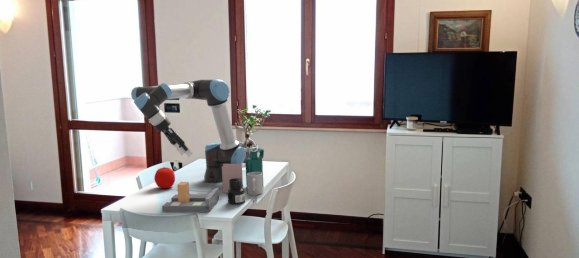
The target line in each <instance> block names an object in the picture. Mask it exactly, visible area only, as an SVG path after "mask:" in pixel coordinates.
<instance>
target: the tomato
mask: <svg viewBox="0 0 579 258" xmlns="http://www.w3.org/2000/svg"><path fill="white" fill-rule="evenodd" d="M175 182H176V175H175V172H174V170H173V169H172V168H170V167H165V166H163V167H160V168H158V169H157V170H156V171H155V174H154V183H155V184H156V186H157V187H158V188H159V189H168V188H169V189H170V188H172V187H173V185H174V184H175Z"/></svg>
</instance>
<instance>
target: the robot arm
mask: <svg viewBox="0 0 579 258" xmlns="http://www.w3.org/2000/svg"><path fill="white" fill-rule="evenodd" d="M130 93H131V94H130V95H131V98H132V100H133V101H134V105H135V106H136V107H137V109H138V110H139V111H140V112H141V113H142V114H143V116H144V117H145V118H146V119H147V120H148V123H149V124H151V125H152V126H154V127H153V128H154V129H155V130H156V132H158V133H163V134H164V135H165V137H166V138H167V140H168V142H169V143H170V144H171V145H172V146H173V147H174V148H175V149H176V151H177V152H178V153H179V154H180V155H181V156H183V155H186V156H187V158H190V157H191V156H192V155H193V154H194V153H193V152H192V151H191V149H190V148H189V147H188V145H186V143H185V141H184V140H183V139H182V138H181V137H180V136H179V135H178V134H177V133H176V131H175V130H174V129H173V128H172V127H169V126H170V125H171V121H170V120H169V118H168V117H166V115H165V114H164V112H163V111H162V110H161V109H160V108H159V107H160V106H161V105H162V104H163V103H164V102H165V101H166V100H172V99H173V100H175V99H186V100H201V101H206V105H207V106H208V107H210V108H211V111H212V114H213V119H214V122H215V125H216V130H217V133H218V138H219V139H220V142H219V141H218V142H212V143H207V144H206V145H205V147H204V150H205V151H204V153H205V154H204V155H205V172H204V175H203V182H206V183H221V182H222V183H223V179H222V166H223V164H242V165H243V163H244V162H245V160H246V155H247V154H246V149H245V147H243V146H241V145H240V142H239V141H238V140H237V139H236V137H235V133H234V130H233V126H232V122H231V118H230V114H229V111H228V107H227V103H228V98H229V96H230V88H229V85H228V83H226V81H224V80H222V79H217V78H216V79H198V80H193V81H186V82H185V81H184V82H183V83H179V84H167V83H163V82H162V83H160V84H159V85H154V86H153V85H151V86H137V87H136V86H135V87H133V88H132V89H131V92H130Z"/></svg>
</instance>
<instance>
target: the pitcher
mask: <svg viewBox="0 0 579 258" xmlns="http://www.w3.org/2000/svg"><path fill="white" fill-rule="evenodd" d="M248 152H249V153H250V157H247V158H245V159H244V162H245V182H246V183H245V184H246V186H247V173H250V172H261V173H262V183H263V184H264V168H263V167H264V166H263V165H264V164H263V163H264V162H263V159H264V154H265V150H264V148H258V149H250V150H248ZM257 153H259V155H258V154H257ZM257 155H258V156H257Z"/></svg>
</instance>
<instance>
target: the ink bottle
mask: <svg viewBox="0 0 579 258" xmlns="http://www.w3.org/2000/svg"><path fill="white" fill-rule="evenodd" d="M229 187H230V188H229V189H228V192H227V203H228V205H229V204H230V205H242V204H244V203H245V202H246V190H245V188H244V187H243V188H242V179H240V178H234V179H230V180H229Z"/></svg>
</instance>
